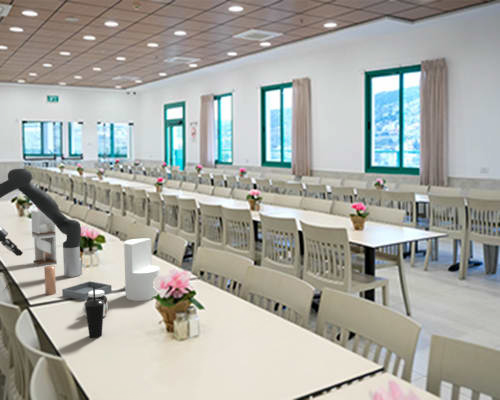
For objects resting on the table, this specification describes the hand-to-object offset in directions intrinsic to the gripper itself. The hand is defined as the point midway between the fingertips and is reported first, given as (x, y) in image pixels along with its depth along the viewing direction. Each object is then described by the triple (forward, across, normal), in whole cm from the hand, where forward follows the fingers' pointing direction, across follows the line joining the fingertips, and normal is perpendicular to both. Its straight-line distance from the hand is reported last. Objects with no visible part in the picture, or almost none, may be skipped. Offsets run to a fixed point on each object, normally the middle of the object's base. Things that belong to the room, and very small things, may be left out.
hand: (20, 254), depth 254 cm
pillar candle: (+25, -2, +5) cm, 25 cm away
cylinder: (+54, -31, -21) cm, 66 cm away
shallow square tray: (+36, -13, -6) cm, 39 cm away
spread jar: (+37, -50, +4) cm, 62 cm away
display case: (+22, +70, -12) cm, 74 cm away
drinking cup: (+37, -73, +11) cm, 82 cm away
